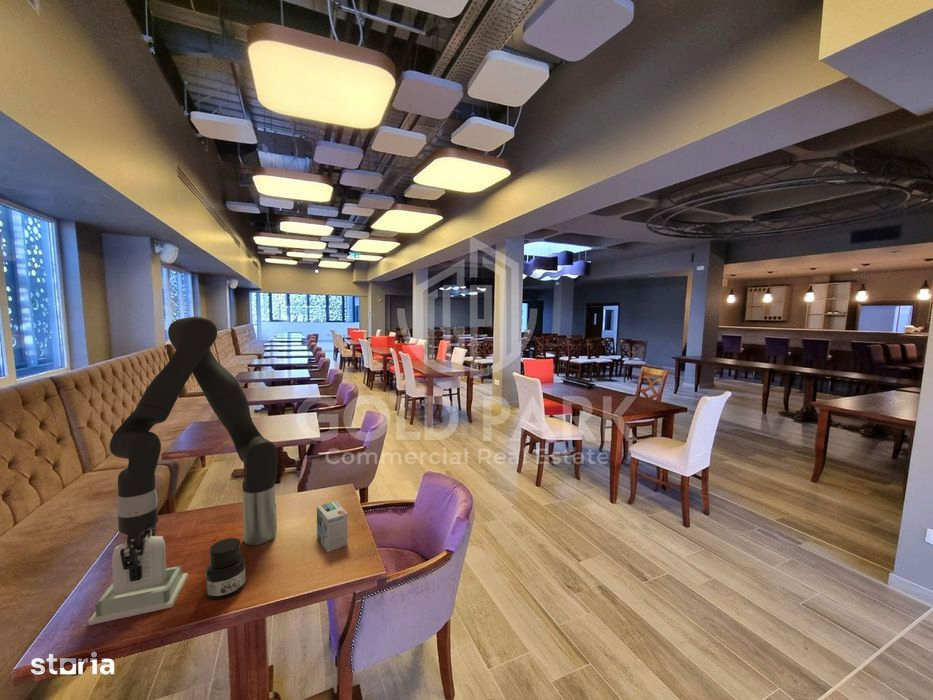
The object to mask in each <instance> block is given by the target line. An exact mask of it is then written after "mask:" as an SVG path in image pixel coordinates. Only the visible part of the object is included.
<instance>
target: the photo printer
mask: <svg viewBox="0 0 933 700" xmlns="http://www.w3.org/2000/svg"><path fill="white" fill-rule="evenodd" d="M126 547H127V546H126V541H125V542H124V543H120V544H119V545H117V546H115V548H114V549H113V553H112V555H111V560H112V561H111V563H112V568H111V569H112V583H113V594H114V595H119V594H123V593H127V592H131V591H135V590H138V589H142V588H145V587H149V586H153V585H156V584H159V583H162V582H163V581H164V580H165V579H166V568H167V559H166V556H167V555H166V542H165V539H164V536H163V535H162V536H161V535H155V536H150V537H148V540H147V542H146V545H145V554H143V555H142V578H141V579H140V580H137V581H130V575H129V569H127V570H124V569H123V565H122V560H121V555H120V551H121V549H124V548H126ZM140 551H141V549H140V550H137V551H136V553H138V552H140ZM137 559H138V557H137Z"/></svg>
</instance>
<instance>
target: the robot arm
mask: <svg viewBox="0 0 933 700" xmlns="http://www.w3.org/2000/svg"><path fill="white" fill-rule="evenodd" d="M167 335H168V339H169V342H170V343H171V345H172V347H173V348H174V349H175V351H174V353H173V354H172V356H171V358H170V359H169V361H168V362H167V363H166V365H165V366H164V367H163V368H162V369H161V371H159V373H158V374H157V375H156V376H155V377H154V378H153V379H152V380H151V382H150V383H149V385H148V386H147V387H146V389H145V391H144V392H143V394H142V396H141V398H140V400H139V401H138V403H137V405H136V407H135V409H134V411H132V412H131V413H130V414H129V416H128V417H127V418H126V419H125V420H124V421H123V422H122V423H121V424H120V425H119V427H118V428H117V429H116V430H115V431H114V433H113V435H112V436H111V438H110V442H109V451H110V453H111V454H112V456H114V457H117V458H120V459H126V460H128V465H127V468H124V469H123V470H121V471H120V473H119V474H118V476H117V494H118V495H117V496H118V497H117V502H116V503H117V505H116V506H117V521H118V522H117V524H118V525H117V526H118V532H119V533H120V534H123V535H126V536H127V537H126V539H125V542H126V546H127V547H126V548H124V549H121V551H120V555H121V560H122V565H123V569H124V570H127V569H129V575H130V581H137V580H140V579H141V578H142V555H143V554H145V545H146V542H147V540H148V537H150V536H156V530H157V523H158V522H159V509H158V506H159V505H158V503H159V502H158V493H157V490H156V488H157V487H156V470H157V467H158V463H159V460H160V456H161V455H160V454H161V452H162V451H161V450H162V443H161V440H160V438H159V436H158V435H157V434H156V433H155V432H152V431H150V430H152V428H153V427H154V426H155V425H157V424H161V423H164V422H166V421H167V420H168V418H169V416H170V414H171V412H172V410H173V408H174V406H175V404H176V402H177V400H178V398H179V397H180V395H181V392H182V391H183V389H184V387H185V385H186V383H187V382H188V380H189V378H190V377H191V375H192V374H193V376H194V378H195V380H196V382H197V384H198V386H199V387H200V389H201V391H202V392H203V395H204V396H205V399H206V400H207V401H208V403H209V405H210V408H211V409H212V411H213V412H214V413H215V415H216V417H217V418H218V420H219V421H220V423H221V424H222V425H223V427H224V428H225V429H226V431H227V433H228V435H229V436H230V439H231V440H232V443H233V444H234V445H233V446H234V448H235V450H236V453H237V455H238V458H239V460H240V461H241V462H242V463H244V464H245V465H246V468H245V470H246V473H245V474H246V475H245V478H244V479H243V481H242V519H243V542H244V544H245V545H248V546H259V545H263V544H265V543H268V542H270V541H272V540H276V535H277V503H276V478H277V476H278V449H277V446H276V445H275V443H273V442H272V441H270V440H268V439H266V438H265V437H264V436H263V435H262V434H261V433H260V432H259V430H258V428H257V427H256V425H255V424H254V422H253V420H252V416H251V411H250V410H251V409H250V405H249V401H248V399H247V397H246V394H245V392H244V389H243V388H242V387H241V384H240V383H239V382H238V379H236V378H235V376H233V374H232V373H231V372H229V370H227V368H225V367H224V365H222V364H221V363H220V362H219V361H218V360H217V359H216V357H215V356H214V355H213V352H212V350H211V347H212V346H213V344H215V341H216V340H217V337H218V328H217V326H216V324H215V323H214V322H213V320H211V319H209V318H208V317H204V316H189V317H183V318H179V319H176V320H174V321H172V323H170V324H169V327H168V329H167ZM140 549H141V551H140V552H138V553H136V551H137V550H140ZM137 557H138V559H137Z"/></svg>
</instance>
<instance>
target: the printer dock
mask: <svg viewBox="0 0 933 700" xmlns="http://www.w3.org/2000/svg"><path fill="white" fill-rule="evenodd" d="M188 577H189V573H188V572H185V573H183V565H179V566H173V567H166V579H165V580H164V581H163V582H162V583H159V584H156V585H153V586H149V587H145V588H142V589H138V590H135V591H131V592H127V593H123V594H119V595H114V594H113V582H112V583H111V584H110V586H109V587H108V588H107V590H105V592H104V593H103V595H102V596H101V597H100V599H98V601H97V603H96V604H95V605H94V606H95V611H94V613H93V614H92V616H91V617H90V618H89V620H88V622H87V624H88V626H92V625H96V624H102V623H105V622H111V621H114V620H118V619H119V620H120V619H124V618H130V617H133V616H137V615H138V616H139V615H143V614H146V613H151V612H156V611H159V610H160V611H161V610H165V609H170V608H173V607H174V606H175V605H174V604H175V603H176V600H177V599H178V597H179V595H180V592H181V591H182V589H183V587H184V585H185V583H186V580H187V579H188Z"/></svg>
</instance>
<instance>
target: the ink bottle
mask: <svg viewBox="0 0 933 700" xmlns="http://www.w3.org/2000/svg"><path fill="white" fill-rule="evenodd" d="M241 547H242V546H241V540H240V538H237V537H236V538H235V537H230V538H224V539H221V540H219V541H217V542H214V543H213V544H212V545H211V546H210V548H209V559H210V562H209V563H210V564H209V565H208V566H207V567H206V570H205V582H206V583H205V588H206V589H205V590H206V596H207V597H208V598H209V599H212V600H220V599H224V598H225V599H226V598H229V597H230V596H233V595H235V594H237V593H238V592H240V591H241V590H242V589H243V588H244V587H245V585H246V583H247V582H246V581H247V577H246V576H247V575H246V559H245V557H244V556H243V555H241V550H242V549H241Z"/></svg>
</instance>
